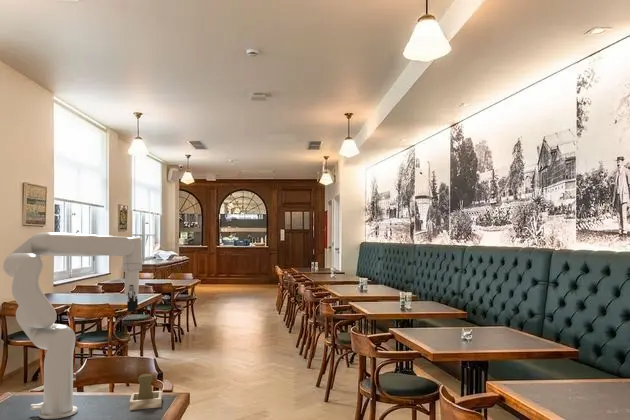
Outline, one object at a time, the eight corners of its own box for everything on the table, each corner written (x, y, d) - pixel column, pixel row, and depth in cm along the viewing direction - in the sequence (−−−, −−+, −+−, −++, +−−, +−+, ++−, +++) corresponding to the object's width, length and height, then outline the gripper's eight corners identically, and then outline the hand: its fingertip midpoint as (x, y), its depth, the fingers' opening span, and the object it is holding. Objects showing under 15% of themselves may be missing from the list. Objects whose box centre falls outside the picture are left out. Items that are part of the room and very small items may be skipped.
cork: (148, 407, 203) (148, 376, 203) (134, 406, 204) (133, 376, 204) (157, 402, 208) (156, 372, 209) (142, 401, 210) (142, 372, 210)
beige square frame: (129, 409, 200) (129, 401, 200) (131, 401, 210) (131, 393, 210) (161, 407, 202) (161, 398, 202) (161, 398, 213) (161, 390, 213)
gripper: (124, 266, 232) (124, 307, 231) (120, 269, 215) (120, 313, 214) (143, 266, 233) (143, 306, 233) (140, 268, 217) (140, 312, 216)
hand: (132, 309), depth 223 cm, fingers open, 9 cm apart
